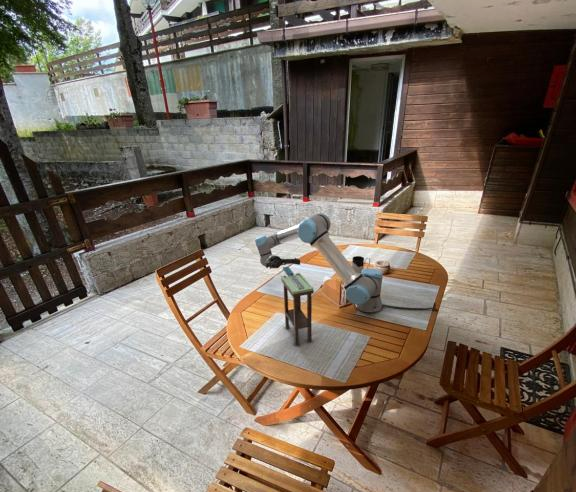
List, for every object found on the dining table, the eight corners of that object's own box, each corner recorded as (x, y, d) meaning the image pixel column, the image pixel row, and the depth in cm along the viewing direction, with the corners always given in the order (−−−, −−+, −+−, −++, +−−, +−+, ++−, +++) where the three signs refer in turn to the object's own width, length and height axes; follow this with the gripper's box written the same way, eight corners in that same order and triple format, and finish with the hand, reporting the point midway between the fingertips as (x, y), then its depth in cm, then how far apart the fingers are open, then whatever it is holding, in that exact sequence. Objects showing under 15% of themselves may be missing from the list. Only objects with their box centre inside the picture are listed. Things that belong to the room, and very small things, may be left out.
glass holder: (347, 277, 219) (349, 257, 211) (364, 273, 223) (366, 253, 216) (354, 282, 212) (356, 261, 204) (372, 278, 216) (374, 257, 209)
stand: (283, 327, 170) (281, 277, 155) (301, 323, 172) (300, 274, 157) (294, 346, 155) (292, 294, 140) (313, 342, 158) (313, 290, 143)
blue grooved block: (282, 269, 163) (282, 267, 162) (288, 268, 163) (288, 266, 163) (298, 289, 143) (298, 287, 142) (304, 288, 144) (304, 286, 143)
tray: (281, 278, 155) (281, 275, 154) (300, 274, 157) (300, 272, 157) (293, 294, 140) (292, 292, 140) (313, 290, 143) (313, 288, 142)
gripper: (293, 265, 195) (309, 267, 176) (255, 271, 185) (267, 274, 166) (291, 252, 193) (308, 254, 174) (253, 258, 184) (266, 260, 165)
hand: (288, 263), depth 170 cm, fingers open, 13 cm apart
